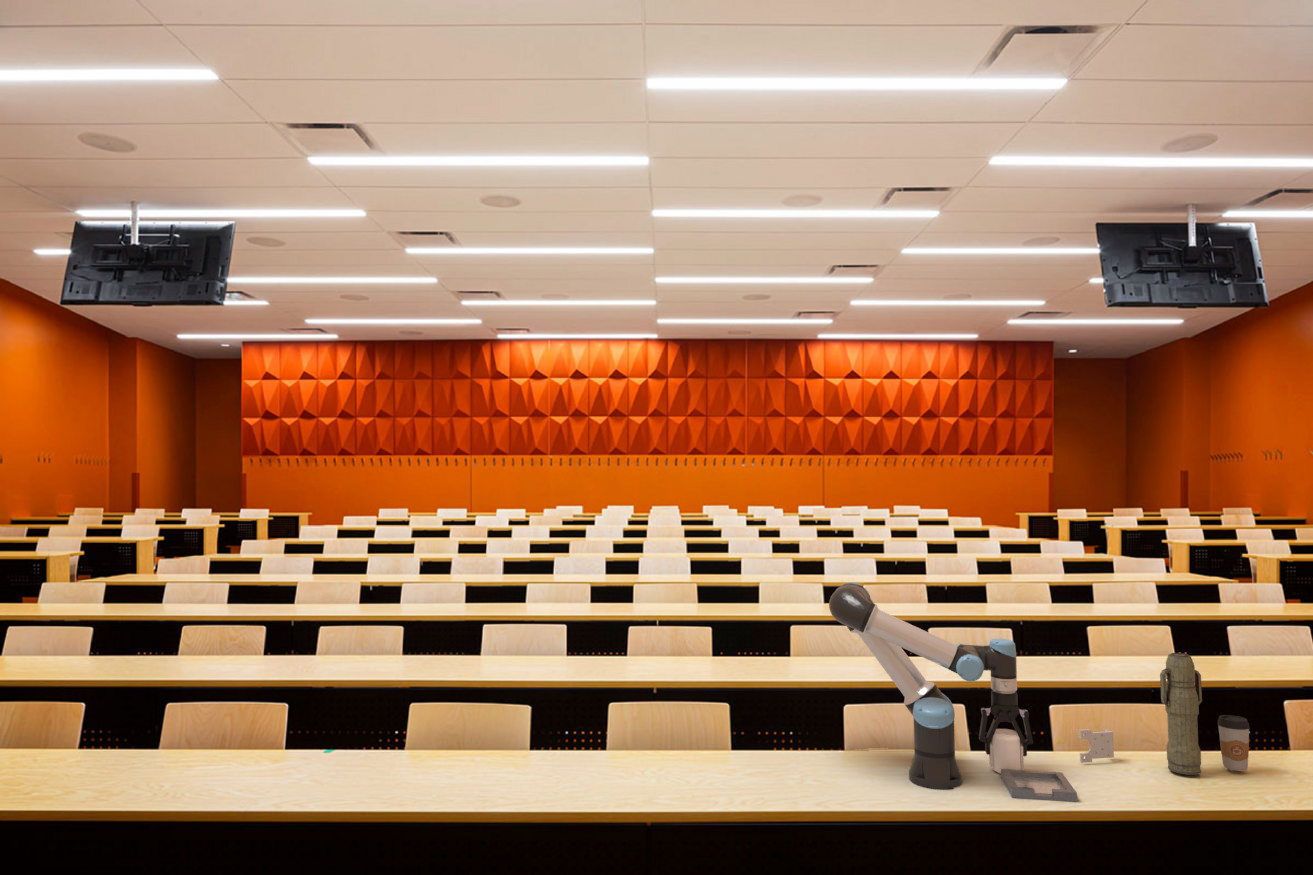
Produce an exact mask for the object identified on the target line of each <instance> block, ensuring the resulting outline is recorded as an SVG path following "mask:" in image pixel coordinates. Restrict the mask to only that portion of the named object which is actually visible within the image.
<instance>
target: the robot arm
mask: <svg viewBox="0 0 1313 875" xmlns="http://www.w3.org/2000/svg"><path fill="white" fill-rule="evenodd" d="M828 603H829V604H828V606H829V608H828V609H829V611H830V614H831V616H832V617H833V618H834V619H835V620H836V621H837V622H839V623H840V624H842V625H844V626H846V627H847V629H848V631H849V632H850V633H854V634H857V635H858V636H859V637H860V638H861V640H862V641H863V642H864V643H863V644H865V645H866V648H868V650H869V651H870V652H871V653H872V655H873V656H874V657H875V658H876V660H877V661H878V663H879V665H880V666H881V667H882V669H884V671H885V673H886V674H887V675H888V676H889V678H890V680H892V681H893V683H894V685H895V686H896V687H897V688H898V690H899V691H900V692H901V694H902V695H903V697H904V701H903V705H904V706H905V707H906V708H907V710H908V711H909V712H910V714H911V715H912V716H913V740H914V741H913V744H914V746H913V747H914V755H913V758H912V761H911V765H910V768H909V770H908V779H909V781H910V783H912V784H914V785H916V786H918V787H920V788H925V789H930V790H937V791H949V790H954V789H956V788H959V787H960V786H961V785H963V776H962V773H961V770H960V767H959V764H958V761H957V759H956V740H955V739H956V738H955V737H956V736H955V708H954V706H953V703H952V701H951V699H949V697H948V696H947V695H945V694H944V693H943V692H941V690H940V689H939V688H938V686H937V685H936V683H934V682H933V681H928V680H927V679H926V678H925V677H924V676H923V674H922V673H921V671H919V670H920V669H918V667H917V666H916V665H915V664H914V662H913V661H912V660H911V659H910V657H909V656H908V654H907V653H906V652H905V651H904V650H907V651H909V652H911V653H913V654H915V655H917V656H920V657H921V658H924V659H925V660H927V661H930V662H932V663H934V664H936V665H939V666H940V667H943V668H945V669H947V670H949V671H951V672H953V673H955V674H957V675H958V676H959V677H960V678H961V679H962V680H965V681H966V682H976V681H978V680H979V679H980V678H981V677H982V676H983V674H984V671H989V672H990V689H991V690H990V698H991V700H990V701H991V704H990V707H986V708H985V707H981V708H980V712H981V720H980V726H979V733H978V739H979V741H980V742H981V743H984V746H985V747H984V748H985V750H984V751H985V753H986V755H989V756H988V759H989V760H988V762H989V766H990V767H993V744H992V738H993V735H994V733H995V731H996V729H998V726H999V725H1000V723H1004V722H1005V723H1011V724H1012V727H1013V728H1014V731H1016V732H1017V734H1018V736H1019V738H1020V758H1021V769H1024V768H1025V764H1024V763H1025V762H1024V760H1025V759H1024V757H1027V756H1028V749H1027V748H1028V745H1033V744H1034V740H1033V736H1032V730H1031V726H1030V721H1029V717H1030V712H1029V711H1028V710H1027V709H1020V708H1019V705H1018V704H1019V703H1018V693H1017V690H1018V680H1017V679H1018V676H1017V674H1018V672H1017V667H1018V665H1017V650H1016V649H1017V648H1016V643H1015V642H1014V641H1013V640H1011V639H1007V638H1006V639H1005V638H993V639H992V638H991V639H990V641H989V644H988V645H975V644H962V643H959V644H954V643H952V642H950V641H947V640H946V639H943V638H941V637H939V636H936V635H935V634H932V633H930V632H928V631H926V630H924V629H921V628H920V627H917V626H915V625H912V624H911V623H909V622H907V621H904V620H902V619H900V618H898V617H897V616H894V615H891V614H890V613H887V612H885V611H884V610H880V609H879V608H878V605H877V604H875V602H874V601H873V600H872V599H871V595H870V593H869V591H868V590H867V589H866V588H865V587H864V585H861V584H859V583H855V582H848V583H844V584H842V585H839V587H837V588H836V589H835V591H834V592H833V593H832V595H831V596H830V599H829V602H828ZM990 713H991V714H992V715H993V716H994V717H993V719H992V722H991V724H990V727H989V729H988V732H987V731H986V728H987V723H988V716H990ZM1019 714H1020V717H1022V720H1023V722H1022V723H1023V726H1024V731H1025V736H1026V739H1025V737H1024V735H1023V733H1022V731H1021V729H1020V727H1019V724H1018V722H1017V720H1016V718H1017V716H1018V715H1019ZM986 732H987V733H986Z"/></svg>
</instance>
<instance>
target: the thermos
mask: <svg viewBox="0 0 1313 875" xmlns="http://www.w3.org/2000/svg"><path fill="white" fill-rule="evenodd" d="M1159 680H1160V681H1159V682H1160V700H1161V704H1163V705H1165V707H1164V710H1165V712H1166V713H1167V715H1166V716H1167V736H1168V737H1167V738H1168V739H1167V740H1168V741H1167V744H1166V760H1167V769H1168V770H1169V771H1172V772H1173V773H1177V774H1181V775H1187V776H1197V775H1201V773H1202V770H1201V766H1202V751H1201V748H1200V746H1199V729H1198V727H1199V726H1198V716H1199V714H1200V712H1199V711H1200V710H1199V707H1200V704H1201V703H1202V702H1203V690H1202V675H1201V672H1200V671H1199V670H1196V669H1195V663H1194V661H1193V658H1192V656H1191V655H1189V654H1187V653H1182V652H1172V653H1169V654H1168V656H1167V658H1166V660H1165V668H1164V669H1162V670H1161V672H1160V674H1159Z"/></svg>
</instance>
